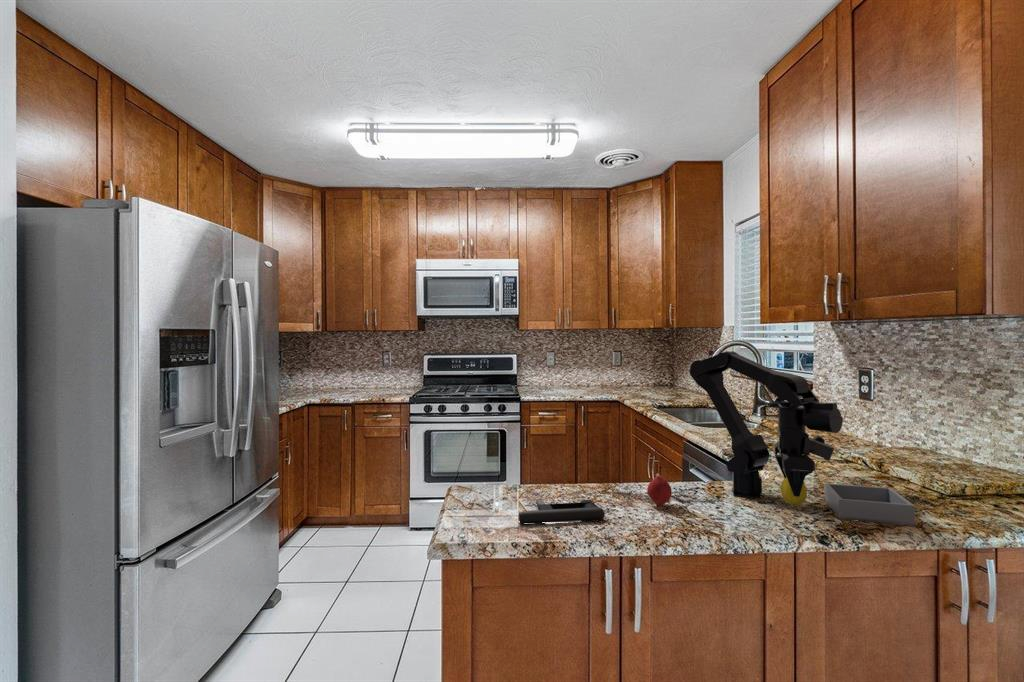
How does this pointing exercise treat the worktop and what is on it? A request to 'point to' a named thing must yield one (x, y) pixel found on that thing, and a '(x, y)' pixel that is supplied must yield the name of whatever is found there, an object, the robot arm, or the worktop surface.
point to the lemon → (789, 495)
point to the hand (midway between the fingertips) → (793, 490)
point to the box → (869, 504)
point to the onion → (659, 490)
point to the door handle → (562, 512)
